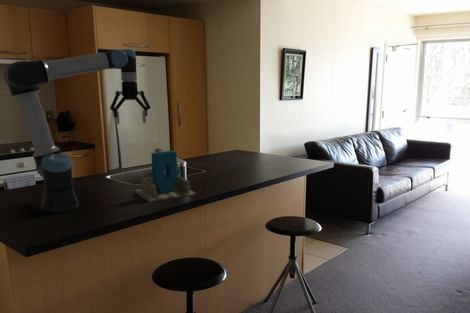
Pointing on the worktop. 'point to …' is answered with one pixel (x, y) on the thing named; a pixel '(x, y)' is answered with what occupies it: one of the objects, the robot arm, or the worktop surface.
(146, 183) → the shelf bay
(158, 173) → the block
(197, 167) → the worktop surface
